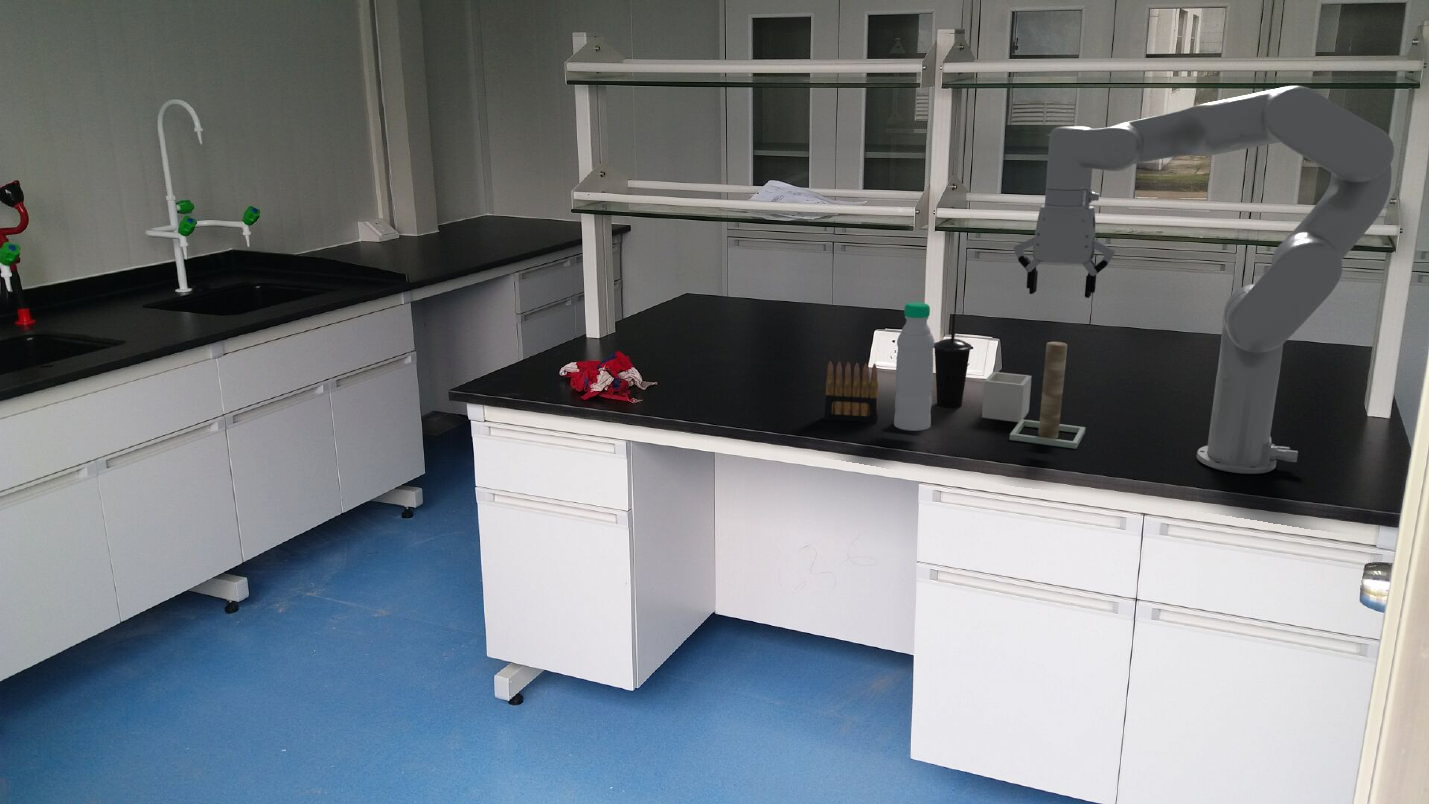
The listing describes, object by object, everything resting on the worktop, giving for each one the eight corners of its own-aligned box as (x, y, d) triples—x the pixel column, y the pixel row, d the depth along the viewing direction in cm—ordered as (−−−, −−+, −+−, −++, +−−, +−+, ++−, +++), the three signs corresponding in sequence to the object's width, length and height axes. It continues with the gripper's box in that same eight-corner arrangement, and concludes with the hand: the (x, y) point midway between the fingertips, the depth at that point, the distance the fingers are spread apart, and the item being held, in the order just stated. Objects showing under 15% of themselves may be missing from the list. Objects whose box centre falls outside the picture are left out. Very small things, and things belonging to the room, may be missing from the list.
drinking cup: (926, 404, 221) (930, 311, 216) (961, 402, 222) (967, 310, 216) (935, 415, 214) (940, 319, 208) (972, 413, 215) (978, 318, 209)
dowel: (1059, 435, 199) (1068, 343, 193) (1056, 441, 196) (1065, 347, 190) (1040, 432, 200) (1048, 340, 195) (1036, 438, 197) (1045, 345, 192)
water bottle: (897, 422, 210) (902, 299, 203) (933, 425, 208) (939, 301, 200) (890, 433, 204) (894, 306, 197) (926, 436, 201) (932, 308, 194)
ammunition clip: (878, 420, 212) (879, 362, 208) (877, 422, 210) (878, 364, 207) (825, 416, 215) (826, 359, 211) (824, 419, 213) (824, 362, 209)
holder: (1028, 416, 213) (1031, 375, 210) (1020, 427, 206) (1023, 385, 204) (990, 411, 216) (993, 371, 213) (981, 422, 209) (984, 381, 207)
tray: (1084, 437, 200) (1085, 427, 199) (1075, 453, 191) (1076, 443, 191) (1020, 428, 205) (1021, 419, 204) (1009, 444, 197) (1009, 434, 196)
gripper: (1122, 198, 184) (1113, 294, 189) (1021, 195, 192) (1015, 287, 197) (1116, 202, 178) (1107, 302, 183) (1012, 199, 185) (1007, 295, 190)
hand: (1060, 294), depth 190 cm, fingers open, 9 cm apart
